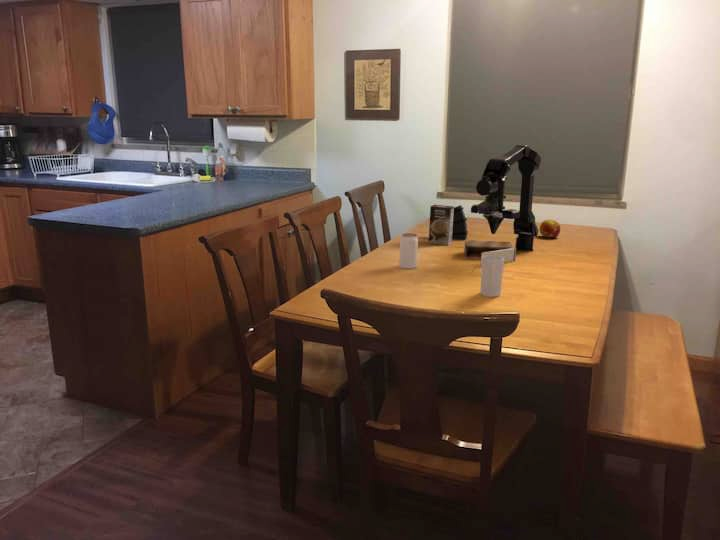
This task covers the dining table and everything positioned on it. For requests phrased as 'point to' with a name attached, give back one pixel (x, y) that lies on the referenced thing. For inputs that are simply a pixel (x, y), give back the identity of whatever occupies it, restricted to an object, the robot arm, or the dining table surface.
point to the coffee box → (441, 224)
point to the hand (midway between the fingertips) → (493, 233)
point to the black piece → (459, 224)
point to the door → (502, 254)
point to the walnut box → (483, 247)
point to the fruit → (550, 228)
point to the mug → (491, 275)
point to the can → (408, 251)
